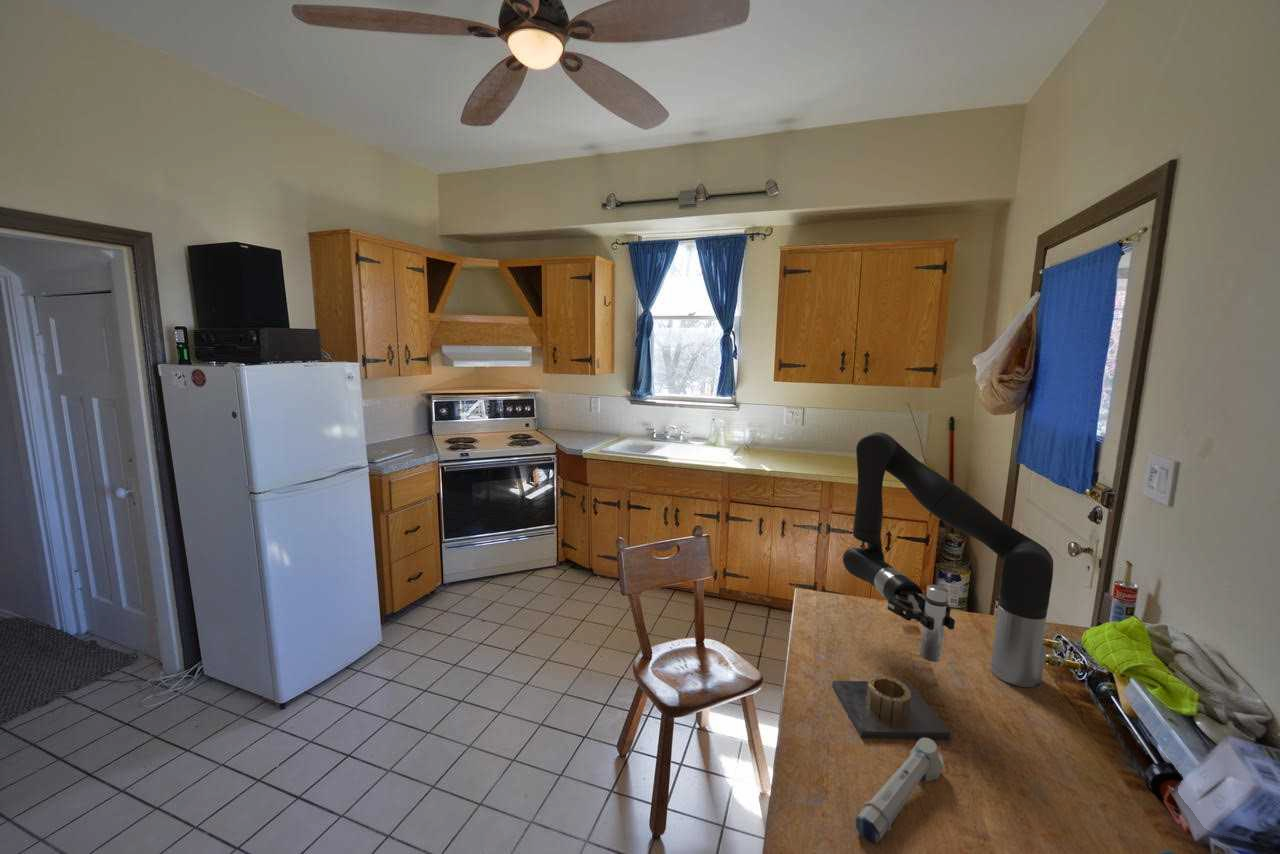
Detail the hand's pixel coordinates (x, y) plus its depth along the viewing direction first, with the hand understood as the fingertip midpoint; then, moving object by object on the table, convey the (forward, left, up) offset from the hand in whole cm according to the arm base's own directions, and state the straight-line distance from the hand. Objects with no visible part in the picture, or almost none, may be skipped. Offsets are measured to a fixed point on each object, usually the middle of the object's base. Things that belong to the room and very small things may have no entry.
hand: (942, 625), depth 110 cm
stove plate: (+11, +1, -20) cm, 23 cm away
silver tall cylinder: (0, -3, -9) cm, 9 cm away
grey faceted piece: (+19, +23, -20) cm, 36 cm away
